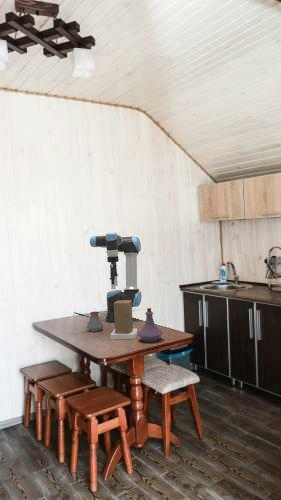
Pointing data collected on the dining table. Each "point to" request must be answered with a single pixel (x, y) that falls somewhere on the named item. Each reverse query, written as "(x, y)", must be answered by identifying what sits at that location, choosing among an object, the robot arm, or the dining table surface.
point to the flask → (150, 329)
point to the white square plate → (124, 335)
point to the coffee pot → (93, 322)
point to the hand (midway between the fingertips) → (114, 287)
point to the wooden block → (123, 316)
